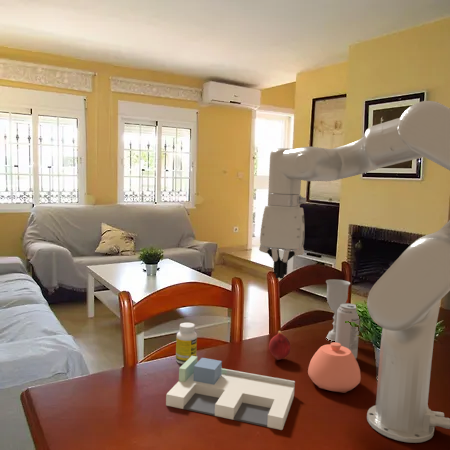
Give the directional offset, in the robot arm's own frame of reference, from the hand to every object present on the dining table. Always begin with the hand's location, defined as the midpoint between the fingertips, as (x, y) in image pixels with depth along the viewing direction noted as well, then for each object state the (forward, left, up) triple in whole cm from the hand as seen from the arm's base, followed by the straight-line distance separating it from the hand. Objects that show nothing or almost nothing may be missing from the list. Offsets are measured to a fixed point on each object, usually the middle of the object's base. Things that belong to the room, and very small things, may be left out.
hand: (280, 277), depth 105 cm
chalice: (-12, -32, -25) cm, 43 cm away
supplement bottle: (+24, 0, -25) cm, 35 cm away
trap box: (+7, +15, -25) cm, 30 cm away
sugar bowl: (-14, -2, -25) cm, 29 cm away
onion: (+1, -10, -25) cm, 27 cm away
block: (+13, +12, -23) cm, 29 cm away
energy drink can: (-16, -18, -25) cm, 35 cm away
